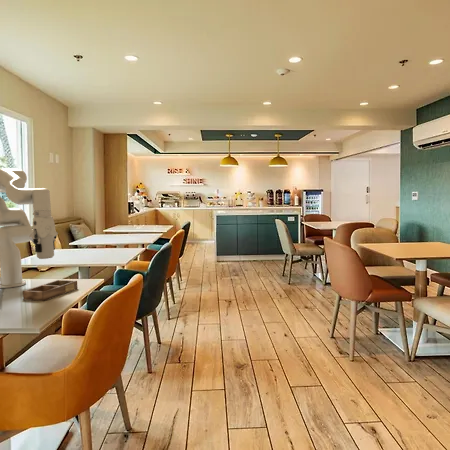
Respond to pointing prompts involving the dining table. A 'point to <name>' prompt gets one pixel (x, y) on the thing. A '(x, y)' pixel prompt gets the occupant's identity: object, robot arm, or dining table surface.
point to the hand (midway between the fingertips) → (45, 250)
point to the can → (46, 247)
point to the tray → (49, 290)
